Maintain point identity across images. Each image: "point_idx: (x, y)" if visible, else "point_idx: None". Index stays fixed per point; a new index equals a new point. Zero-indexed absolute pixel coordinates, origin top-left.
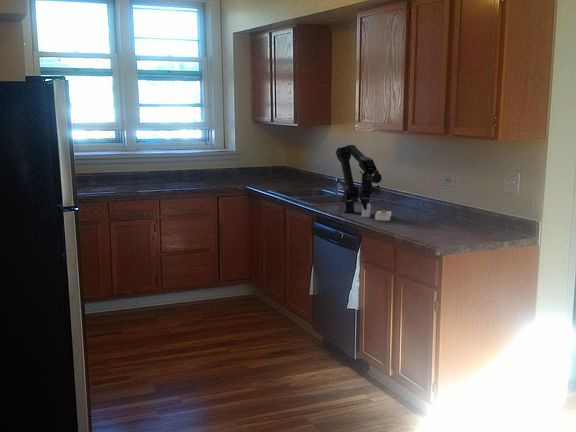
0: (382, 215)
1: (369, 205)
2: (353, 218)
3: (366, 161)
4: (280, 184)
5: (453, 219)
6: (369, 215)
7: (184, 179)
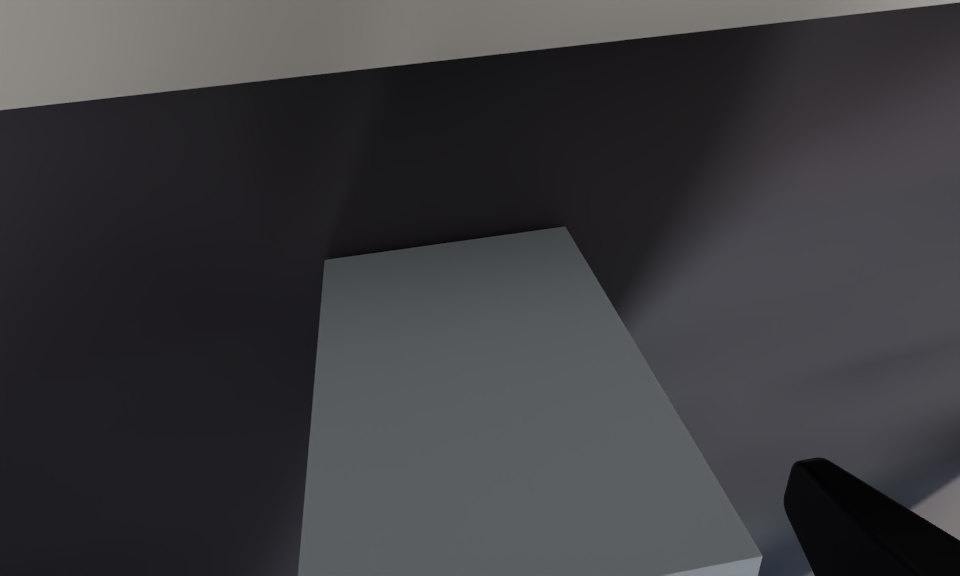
0: None
1: (749, 543)
2: (747, 484)
3: None
4: None
5: None
6: (579, 253)
7: None
